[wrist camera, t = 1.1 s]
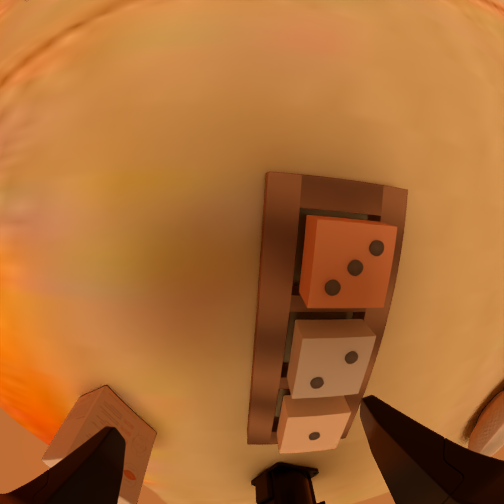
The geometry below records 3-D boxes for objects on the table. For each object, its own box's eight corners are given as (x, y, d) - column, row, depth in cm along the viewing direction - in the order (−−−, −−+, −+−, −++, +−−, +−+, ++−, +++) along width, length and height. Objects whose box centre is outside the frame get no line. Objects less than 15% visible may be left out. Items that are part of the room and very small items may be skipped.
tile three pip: (367, 292, 18) (384, 308, 15) (299, 291, 18) (307, 309, 15) (378, 221, 17) (399, 227, 14) (306, 214, 17) (318, 219, 14)
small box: (79, 395, 23) (38, 458, 12) (107, 383, 22) (63, 457, 12) (127, 440, 24) (102, 506, 14) (158, 432, 24) (137, 508, 14)
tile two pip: (347, 373, 20) (359, 395, 17) (286, 376, 19) (292, 400, 17) (361, 319, 18) (377, 337, 16) (295, 319, 18) (303, 340, 16)
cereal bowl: (468, 446, 30) (483, 467, 23) (446, 434, 27) (465, 461, 20) (524, 383, 27) (542, 400, 20) (516, 353, 24) (542, 373, 17)
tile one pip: (329, 429, 21) (336, 450, 18) (276, 432, 21) (279, 455, 18) (342, 392, 20) (351, 413, 17) (283, 395, 20) (288, 419, 17)
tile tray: (340, 425, 24) (345, 438, 22) (247, 430, 24) (247, 444, 22) (394, 189, 19) (407, 189, 17) (265, 173, 18) (268, 171, 16)
